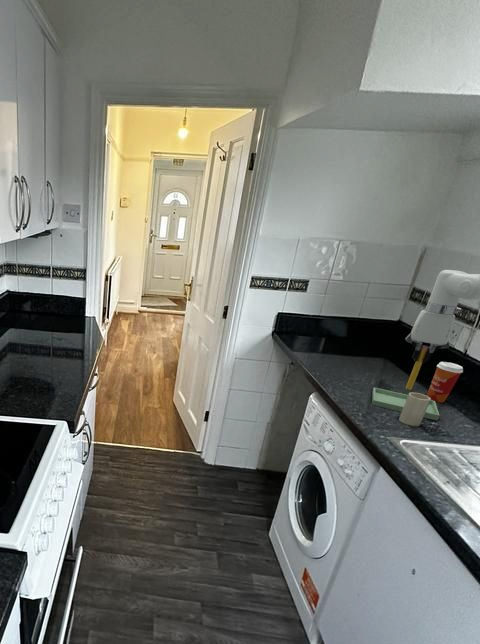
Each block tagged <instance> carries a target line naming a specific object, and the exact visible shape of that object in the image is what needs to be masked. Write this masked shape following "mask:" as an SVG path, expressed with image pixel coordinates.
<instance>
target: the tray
mask: <svg viewBox="0 0 480 644" xmlns="http://www.w3.org/2000/svg"><path fill="white" fill-rule="evenodd" d="M371 396H372V397H371V405H373V406H377V407H380V408H385V409H388V410H391V411H396V412H400V413H401V412H402V409H403V407H404V404H405V402H406V399H407V396H408V394H405V393H401V392H395V391H393V390H387V389H383V388H378V387H373V388H372V395H371ZM440 416H441V415H440V412H439V410H438V406H437V402H435V401H433V400H430V403H429V405H428V407H427V410H426V412H425V415H424V417H423V419H428V420H433V421H436V422H438V420H439V418H440Z"/></svg>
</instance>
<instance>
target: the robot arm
mask: <svg viewBox="0 0 480 644" xmlns="http://www.w3.org/2000/svg"><path fill="white" fill-rule="evenodd" d="M460 299H463V300H471V301H472V300H480V273H468V272H465V271H463V270H454V269H444V270H441V271H440V272H439V273H438V274H437V277H436V281H435V283H434V285H433V288H432V290H431V294H430V296H429V299H428V301H427V304H426V307H425V309H423V310H420V313H419V314H418V316H417V318H416V320H415V321H414V323H413V326H412V329H411V331H410V333H409V334H408V335H407V336H406V337H405V341H406V342H407V343H409V344H411V345H412V346H413V348H414V351H413V354H412V359H413V362H415V363H416V362H417V360H418V358H419V355H420V353H421V351H420V350H421V347H422V346H423V343H426V344H430V345H429V346H428V350H427V352H426V354H425V357H424V359H423V362H422V364H426V362H429V361H430V360H431V359H430V358H431V356H432V354H433V353H435V352H436V351H439V350H443V349H444V350H445V349H449V348H450V341H449V340H450V337H451V335H452V331H453V328H454V325H455V320H456V315H455V314H456V313H461V311H462V308H460V307H458V304H459V301H460Z"/></svg>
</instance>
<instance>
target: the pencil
mask: <svg viewBox="0 0 480 644" xmlns="http://www.w3.org/2000/svg"><path fill="white" fill-rule="evenodd" d="M420 348H421V350H420V351H421V353H420V355H419V358H418V360H417V362H415V363H414V365H413V368H412V370H411V373H410V375H409V378H408V381H407V383H406V385H405V389H406V390H409V391H411V390H412V389H413V388H414V384H415V383H416V380H417V377H418V375H419V372H420V370H421V367H422V365H423V359H424V357H425V354H426V352H427V350H428V349H429V346H428V345H425V344H424V345H423V344H422V345H421V347H420Z"/></svg>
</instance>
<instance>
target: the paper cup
mask: <svg viewBox="0 0 480 644" xmlns="http://www.w3.org/2000/svg"><path fill="white" fill-rule="evenodd" d="M462 373H464V368H463V366H461V365H459V364H457V363H453V362H447V361H440V362H439V363H438V364H437V365H436V370H435V372H434V375H433V377H432V380H431V382H430V385H429V388H428V391H427V394H426V396H428V397H430V398H431V400H433V401H435V403H444V402H446V400H447V398H448V396H449V395H450V393H451V392H452V390H453V388H454V387H455V384H456V383H457V381H458V379H459V377H460V376H461V374H462Z"/></svg>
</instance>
